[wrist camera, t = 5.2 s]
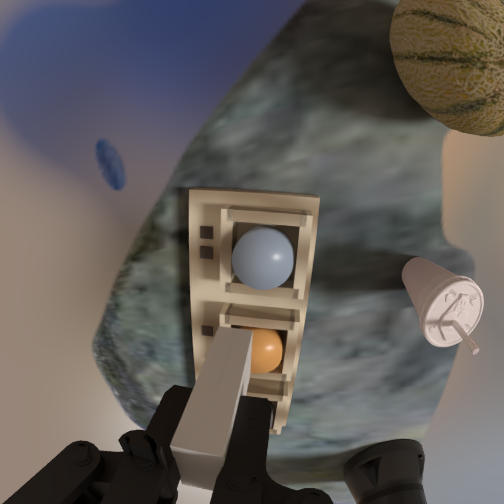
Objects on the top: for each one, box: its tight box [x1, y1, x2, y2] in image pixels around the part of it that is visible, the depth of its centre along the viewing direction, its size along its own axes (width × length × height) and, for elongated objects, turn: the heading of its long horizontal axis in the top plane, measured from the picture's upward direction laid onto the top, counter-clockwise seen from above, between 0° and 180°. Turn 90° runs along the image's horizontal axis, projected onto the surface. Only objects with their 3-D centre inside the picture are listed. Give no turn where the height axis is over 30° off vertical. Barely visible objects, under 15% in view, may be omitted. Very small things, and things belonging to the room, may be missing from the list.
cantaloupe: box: [389, 0, 504, 137], centre depth 15 cm, size 15×15×15 cm
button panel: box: [189, 187, 320, 434], centre depth 31 cm, size 30×12×4 cm, turn 177°
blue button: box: [232, 225, 293, 290], centre depth 25 cm, size 5×5×2 cm
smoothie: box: [402, 257, 484, 354], centre depth 22 cm, size 6×6×14 cm
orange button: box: [239, 326, 283, 374], centre depth 29 cm, size 5×5×2 cm
